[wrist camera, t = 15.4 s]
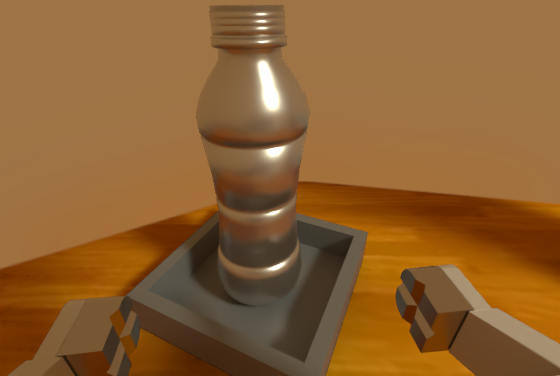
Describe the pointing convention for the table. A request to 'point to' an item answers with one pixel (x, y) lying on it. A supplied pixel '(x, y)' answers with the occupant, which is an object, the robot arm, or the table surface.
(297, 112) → the plastic bottle
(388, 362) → the table surface
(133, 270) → the table surface
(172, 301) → the box
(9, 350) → the table surface
